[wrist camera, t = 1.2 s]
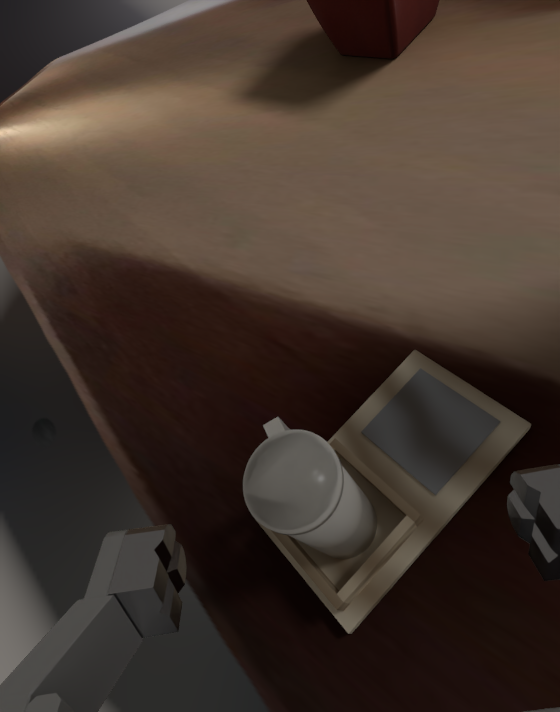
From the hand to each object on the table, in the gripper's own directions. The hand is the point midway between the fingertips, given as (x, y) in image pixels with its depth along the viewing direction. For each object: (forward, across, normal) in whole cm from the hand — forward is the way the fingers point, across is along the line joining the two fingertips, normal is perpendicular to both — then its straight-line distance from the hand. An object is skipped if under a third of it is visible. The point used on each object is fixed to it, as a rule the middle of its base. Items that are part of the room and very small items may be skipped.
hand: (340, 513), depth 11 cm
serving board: (+23, -6, +25) cm, 35 cm away
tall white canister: (+21, 0, +26) cm, 34 cm away
